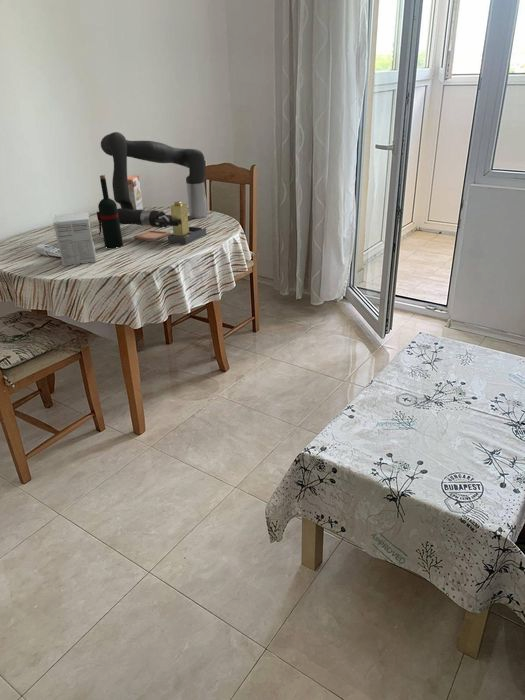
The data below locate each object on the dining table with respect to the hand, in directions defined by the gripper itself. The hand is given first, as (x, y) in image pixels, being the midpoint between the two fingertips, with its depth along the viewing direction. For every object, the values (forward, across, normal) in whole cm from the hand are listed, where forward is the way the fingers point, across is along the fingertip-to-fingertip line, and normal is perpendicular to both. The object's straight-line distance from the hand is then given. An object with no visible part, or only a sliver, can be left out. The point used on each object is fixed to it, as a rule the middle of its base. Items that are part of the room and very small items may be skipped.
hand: (183, 221), depth 229 cm
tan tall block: (-2, 0, +9) cm, 9 cm away
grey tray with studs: (-2, +4, +9) cm, 10 cm away
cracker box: (-50, +29, +9) cm, 58 cm away
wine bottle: (-28, -17, +9) cm, 34 cm away
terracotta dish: (-19, +1, +9) cm, 21 cm away
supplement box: (-28, -37, +9) cm, 47 cm away
